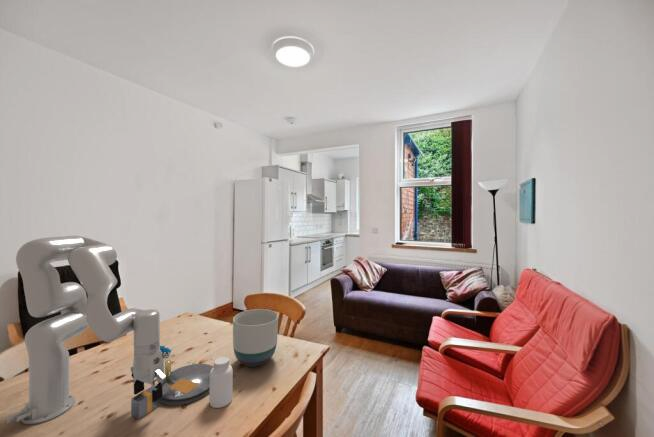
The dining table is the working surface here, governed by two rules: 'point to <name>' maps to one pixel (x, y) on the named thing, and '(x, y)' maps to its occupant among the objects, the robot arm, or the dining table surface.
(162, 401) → the base plate
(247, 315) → the planter
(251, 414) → the dining table surface
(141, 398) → the link block
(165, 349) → the blue green toy
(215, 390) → the pill bottle
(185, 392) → the turntable
